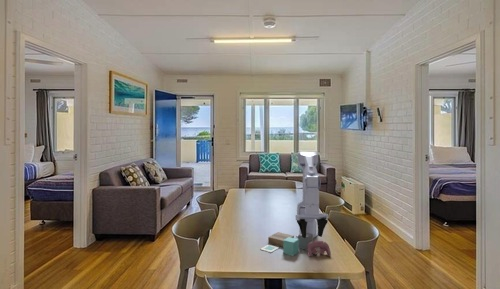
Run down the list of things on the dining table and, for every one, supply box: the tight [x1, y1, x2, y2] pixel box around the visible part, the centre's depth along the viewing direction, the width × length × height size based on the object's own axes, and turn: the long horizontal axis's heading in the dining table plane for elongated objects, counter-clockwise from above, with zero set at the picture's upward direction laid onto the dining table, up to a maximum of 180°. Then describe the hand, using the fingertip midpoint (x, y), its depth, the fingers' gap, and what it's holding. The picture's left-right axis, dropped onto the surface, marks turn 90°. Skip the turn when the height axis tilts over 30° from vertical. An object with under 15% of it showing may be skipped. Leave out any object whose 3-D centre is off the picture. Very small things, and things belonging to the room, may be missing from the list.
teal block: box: [282, 237, 300, 257], centre depth 138 cm, size 5×5×6 cm
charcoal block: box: [297, 233, 314, 251], centre depth 145 cm, size 5×5×6 cm
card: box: [259, 243, 280, 253], centre depth 143 cm, size 7×6×1 cm
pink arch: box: [307, 240, 332, 258], centre depth 136 cm, size 10×5×7 cm, turn 92°
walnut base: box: [267, 231, 295, 248], centre depth 151 cm, size 9×9×3 cm
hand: (312, 236), depth 129 cm, fingers open, 7 cm apart
